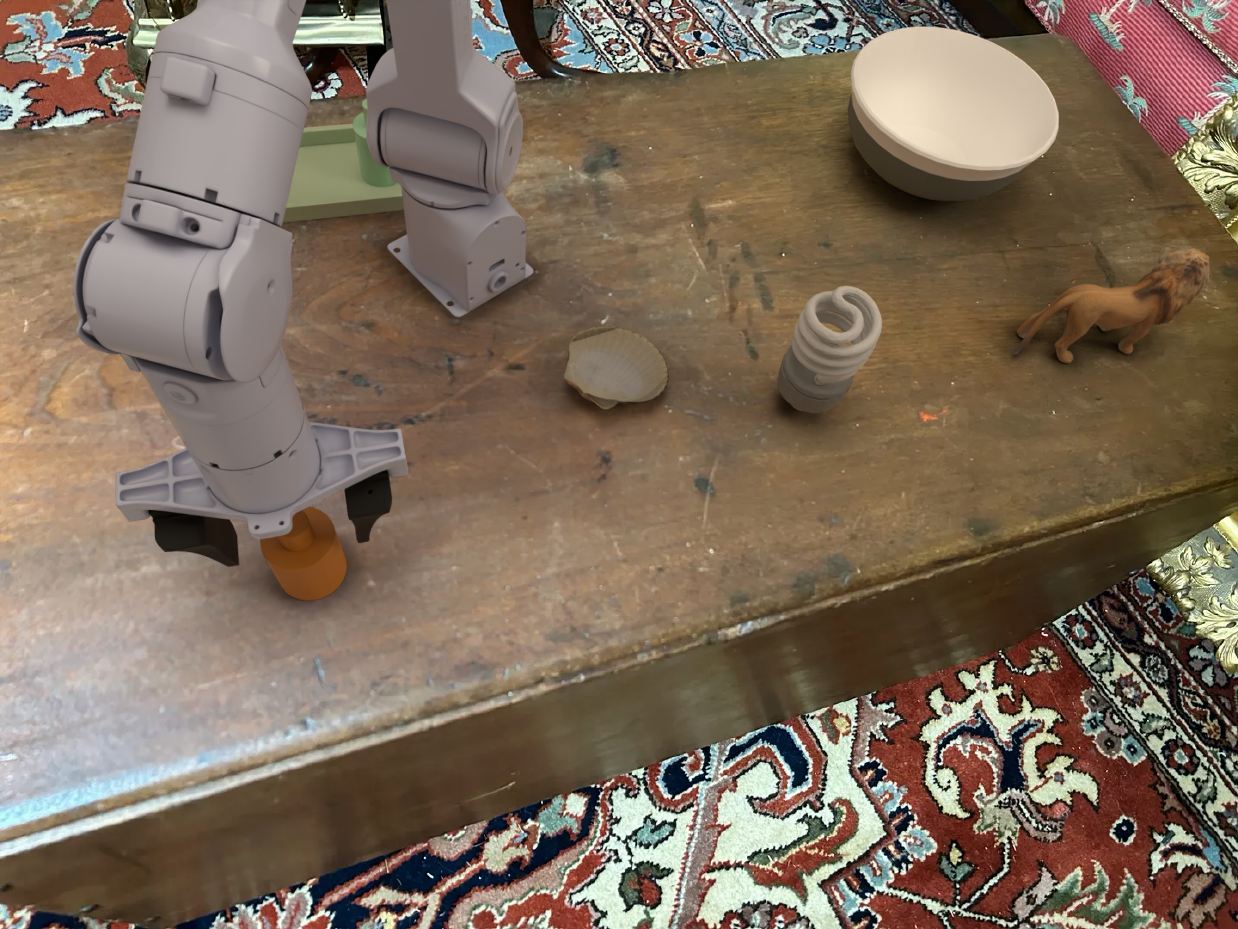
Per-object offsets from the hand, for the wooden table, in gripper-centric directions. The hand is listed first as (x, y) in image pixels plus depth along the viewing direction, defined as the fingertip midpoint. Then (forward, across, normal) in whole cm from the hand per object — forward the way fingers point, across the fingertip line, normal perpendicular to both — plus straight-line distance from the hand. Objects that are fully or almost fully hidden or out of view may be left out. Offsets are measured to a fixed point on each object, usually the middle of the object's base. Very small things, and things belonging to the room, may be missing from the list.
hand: (298, 539), depth 56 cm
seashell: (+5, +23, +11) cm, 26 cm away
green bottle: (+4, +9, +36) cm, 37 cm away
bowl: (+5, +59, +30) cm, 66 cm away
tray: (+5, +8, +36) cm, 37 cm away
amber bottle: (+5, 0, 0) cm, 5 cm away
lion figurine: (+5, +65, +8) cm, 65 cm away
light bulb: (+5, +38, +6) cm, 38 cm away
